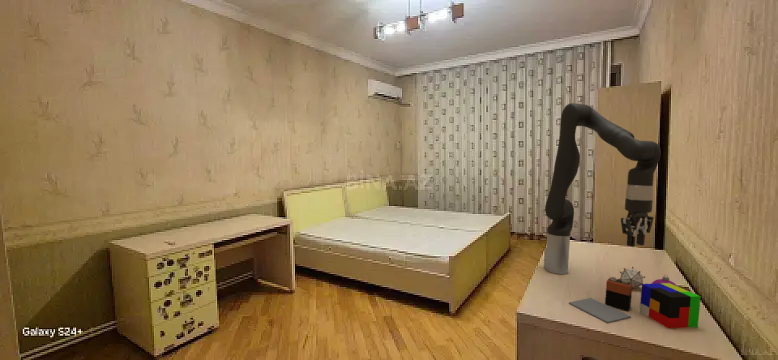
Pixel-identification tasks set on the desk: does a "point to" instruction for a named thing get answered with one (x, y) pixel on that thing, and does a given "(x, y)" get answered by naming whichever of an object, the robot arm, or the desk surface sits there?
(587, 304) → the mat
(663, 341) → the desk surface
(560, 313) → the desk surface
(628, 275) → the game die
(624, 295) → the battery
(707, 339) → the desk surface
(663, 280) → the christmas ornament
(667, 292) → the puzzle toy
